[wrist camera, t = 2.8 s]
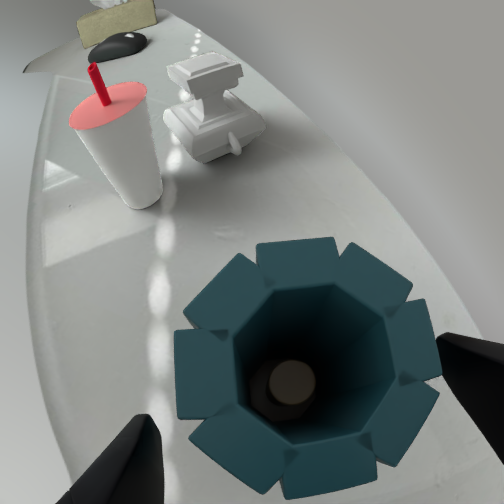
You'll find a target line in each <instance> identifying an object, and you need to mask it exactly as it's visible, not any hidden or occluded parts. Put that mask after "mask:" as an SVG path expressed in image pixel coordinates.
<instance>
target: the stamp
mask: <svg viewBox="0 0 504 504" xmlns="http://www.w3.org/2000/svg"><path fill="white" fill-rule="evenodd" d="M166 68H167V71H168V74H169V77H170V79H171V80H172V81H174V82H175V83H177V84H178V85H179V86H181V87H182V88H183V89H184V90H185V91H186V92H188V93H189V94H190V95H191V96H192V97H193V99H190V100H188V101H185V102H182V103H180V104H177V105H175V106H172V107H170V108H168V109H166V110H165V111H164V115H163V119H164V122H165V123H166V125H167V126H168V127H169V128H170V130H171V131H172V132H173V134H174V135H175V136H176V137H177V139H178V140H179V141H180V142H181V144H182V145H183V146H184V148H185V149H186V150H187V151H188V153H189V154H190V155H191V157H192V158H193V159H195V160H197V161H200V162H202V163H203V164H205V163H207V162H209V161H211V160H213V159H216V158H218V157H220V156H222V155H225V154H227V153H229V152H232V153H233V154H235V155H240V154H241V147H244V146H246V145H248V144H249V143H250V142H251V141H252V140H253V139H254V138H255V137H257V136H258V135H259V134H260V133H261V132H262V131H263V130H264V129H266V123H265V121H264V119H263V117H262V116H261V115H260V114H258V113H257V112H256V111H255V110H253V109H252V108H251V107H249V106H248V105H247V104H246V103H244V102H243V101H242V100H240V99H239V98H238V97H236V96H235V95H234V94H232V93H231V92H230V91H228V89H231V88H234V87H236V86H237V85H238V78H240V77H243V72H242V68H241V64H240V63H239V62H236V61H234V60H232V59H230V58H228V57H225V56H223V55H221V54H218V53H216V52H214V51H211V52H208V53H204V54H201V55H198V56H195V57H192V58H189V59H186V60H183V61H180V62H177V63H175V64H172V65H169V66H167V67H166Z"/></svg>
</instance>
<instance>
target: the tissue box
mask: <svg viewBox="0 0 504 504" xmlns="http://www.w3.org/2000/svg"><path fill="white" fill-rule="evenodd" d="M90 2H91V3H92V4H93V5H96V6H99V7H101V9H98V10H95V11H93V12H90V13H88V14H85V15H83V16H81V17H80V19H79V20H78V21H77V22H76V24H77V28H78V32H79V35H80V37H81V41H82V44H83V47H84V49H86V48H88V47H91V46H93V45H96V44H98V43H100V42H102V41H103V40H105V39H106V38H108V37H109V36H112V35H114V34H117V33H121V32H132V31H135V30H138V29H142V28H145V27H148V26H152V25H156V24H157V19H156V13H155V5H154V1H153V0H90Z"/></svg>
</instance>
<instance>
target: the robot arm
mask: <svg viewBox="0 0 504 504" xmlns="http://www.w3.org/2000/svg"><path fill="white" fill-rule="evenodd" d="M436 344H437V348H438V353H439V358H440V362H441V367H442V376H443V378H444V379H445V381H446V383H447V384H448V386H449V388H450V389H451V391H452V392H453V394H454V395H455V397H456V398H457V400H458V401H459V402H460V404H461V405H462V406H463V408H464V409H465V410H466V412H467V413H468V414H469V416H470V417H471V419H472V420H473V421H474V423H475V424H476V425H477V427H478V428H479V430H480V431H481V432H482V434H483V435H484V437H485V438H486V440H487V441H488V443H489V444H490V445H491V447H492V448H493V450H494V451H495V453H496V454H497V456H498V457H499V459H500V460H501V462H502V463H503V465H504V344H500V343H496V342H490V341H486V340H481V339H477V338H472V337H467V336H463V335H458V334H454V333H449V332H446V333H444V334H441V335H439V336H438V337H437V338H436ZM56 504H164V467H163V454H162V439H161V434H160V431H159V429H158V428H157V426H156V424H155V422H154V421H153V419H152V417H151V416H150V415H149V414H138V415H135V416H134V417H133V418H132V419H131V421H130V422H129V423H128V424H127V425H126V426H125V427H124V429H123V430H122V431H121V432H120V433H119V434H118V435H117V436H116V438H115V439H114V440H113V441H112V442H111V443H110V444H109V446H108V447H107V448H106V449H105V450H104V451H103V452H102V453H101V455H100V456H99V457H98V458H97V459H96V460H95V461H94V462H93V463H92V465H91V466H90V467H89V468H88V469H87V470H86V471H85V472H84V473H83V475H82V476H81V477H80V478H79V479H78V480H77V481H76V482H75V483H74V485H73V486H72V487H71V488H70V490H69V491H67V492H66V493H65V494H64V495H63V497H62V498H61V499H60V500H59V501H58V502H57V503H56Z"/></svg>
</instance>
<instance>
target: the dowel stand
mask: <svg viewBox="0 0 504 504" xmlns="http://www.w3.org/2000/svg"><path fill="white" fill-rule="evenodd" d="M249 386H250V396H251V406H252V407H254V408H255V409H256V410H258V411H259V412H260V413H262V414H263V415H264V416H266V417H267V418H268V419H270V420H271V421H272V422H274V421H283V420H290V419H297V418H300V417H301V416H302V414H303V413H304V412H305V411H306V409H307V408H308V407H309V406H310V404H311V403H312V402H313V401H314V399H315V398H316V395H315V387H316V376H315V373H314V371H313V370H312V368H311V367H310V366H309V365H308V364H307V363H305V362H303V361H301V360H297V359H293V358H285V359H277V360H268V361H265V362H264V364H263V365H262V366H261V367H260V368H259V369H258V371H257V372H256V373H255V374H254V375H253V376H252V378H251V379H250V380H249Z"/></svg>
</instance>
